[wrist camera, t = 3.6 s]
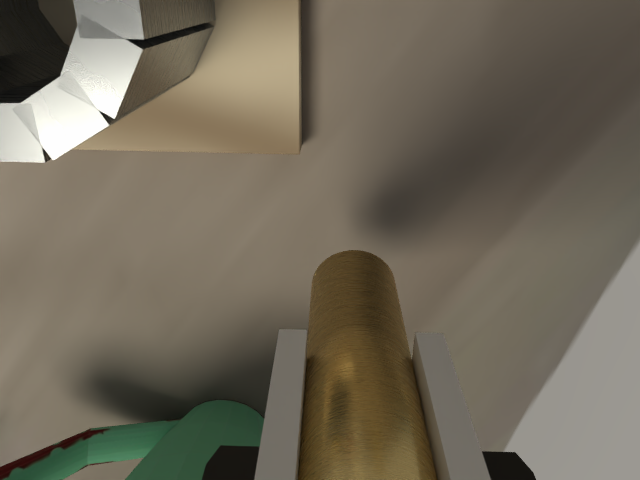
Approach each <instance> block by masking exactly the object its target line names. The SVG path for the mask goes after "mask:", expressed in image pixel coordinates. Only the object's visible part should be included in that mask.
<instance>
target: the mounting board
mask: <svg viewBox="0 0 640 480" xmlns="http://www.w3.org/2000/svg"><path fill="white" fill-rule="evenodd" d="M214 1H215V15H216V20H214V21H210V22H208V23H210V24H211V25H213V26H214V29H213V31H212V34H211V36H210V38H209V40H208V42H207V45H206V47H205V49H204V51H203V53H202V55H201V58H200V60H199V62H198V64H197V66H196V68H195V71H194V73H192V74H191V75H189V78H188V79H186V80H184V81H183V82H181V83H180V84H178V85H176V86H175V87H173V88H172V89H170V90H168V91H167V92H165V93H164V94H162V95H160V96H159V97H157V98H156V99H154V100H152V101H151V102H149V103H147V104H146V105H144V106H142V107H141V108H139V109H137V110H136V111H134V112H133V113H131V114H129V115H128V116H126V117H124V118H123V119H121V120H119V121H118V122H116V123H114V124H113V125H111V126H109V127H108V128H106V129H104V130H103V131H101V132H99V133H98V134H96V135H94V136H93V137H91V138H89V139H88V140H86V141H85V142H83V143H81V144H80V145H78V146H76V147H75V148H73V149H81V150H126V151H170V152H215V153H259V154H300V150H301V146H302V114H301V0H214ZM38 4H39V9H40V10H41V12H42V13H43V14H44V16H45V17H46V19H47V20H48V21H49V23H50V24H51V25H52V27H53V28H54V30H55V31H56V32H57V34H58V35H59V36H60V38H61V39H62V41H63V42H64V43H65V44H67V45H69V46H71V43H72V40H73V37H74V34H75V31H76V28H77V19H76V14H75V9H74V3H73V0H38Z"/></svg>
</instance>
